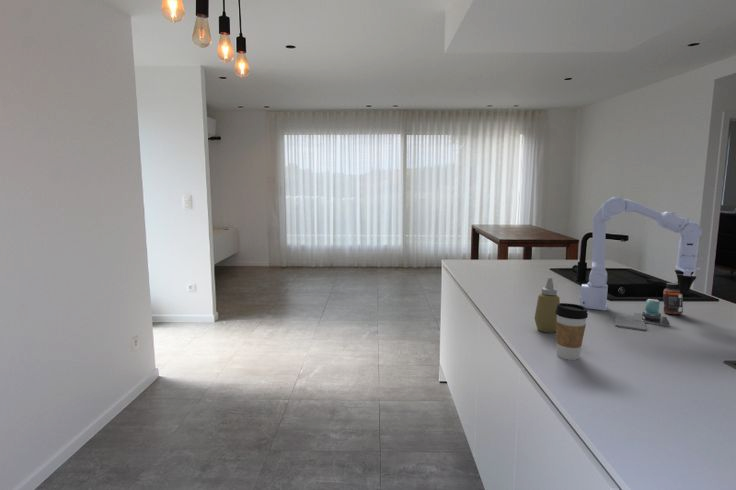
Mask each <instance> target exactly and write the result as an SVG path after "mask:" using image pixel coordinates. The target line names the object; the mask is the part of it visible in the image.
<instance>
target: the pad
mask: <svg viewBox="0 0 736 490" xmlns="http://www.w3.org/2000/svg"><path fill="white" fill-rule="evenodd" d="M614 324H615V327H616V328H621V329H622V328H624V329H628V330H630V329H631V330H635V329H636V331H641V332H642V331H644V332H647V327H646V323H644V322H643V321H636V320H633V319H629V318H619V317H615V318H614Z"/></svg>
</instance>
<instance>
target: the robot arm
mask: <svg viewBox="0 0 736 490" xmlns="http://www.w3.org/2000/svg"><path fill="white" fill-rule="evenodd" d="M624 210H625V213H637V214H640V215H642V216H644V217H647V218H650V219H652V220H654V221H656V223H657V225H658V226H659V227H661V228H664V229H666V230H668V231H670V232H673V233H675V234H680V237H679V238H680V239H679V242H678V248H677V249H678V250H677V258H676V265H675V270H674V272H675V274H676V279H677V283H678V288H679V289H680V294H683V295H686V296H687V295H688V294H689V292H690V289H691V287H692V285H693V283H694V282H695V281H696V279H697V276H695V275H694V272H696V271H698V272H699V271H700V270H701V267H697V262H698V254H699V246H700V243H699V241H700V236H702V234H703V230H702V227H701V226H700V225H699V223H697V222H694V221H693V220H691V219H690V218H687V217H686V218H684V217H682V216H679V215H677V214H676V212H674V211H670V212H669V211H667V210H666V211H664V212H660V211H657V210H656V209H653V208H651V207H649V206H646V205H645V204H641V203H640V202H637V201H634V200H631V199H628V198H622V197H621V196H612V197H610V198H608V199H606V201H604V202H603V203H602V204H601V206H600V207H599V208H598V210H596V212H595V213H594V215H593V217H592V248H591V249H592V251H591V255H592V257H591V261H592V262H591V270H590V272H589V276H588V282H587V283H582V284H581V288H580V296H579V302H580V303H579V305H581V306H584V307H586V308H587V309H589V310H592V309H593V310H597V311H598V310H599V311H605V312H607V311H608V304H607V299H608V288H609V284H607V282H608V271H607V269H606V234H607V232H606V229H607V228H606V227H607V222H608V221H609V220H610V219H611V218H612V217H614V216H617V215H619V214H621V213H623V212H624Z"/></svg>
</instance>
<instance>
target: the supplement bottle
mask: <svg viewBox="0 0 736 490" xmlns="http://www.w3.org/2000/svg"><path fill="white" fill-rule="evenodd" d="M683 295H684V294H680V289H679V288H678V282H666V288H664V289H663V312H664V313H665V314H667V315H668V314H669V315H682V314H683V312H684V311H683V310H684V309H683V307H684V305H683V304H684V301H683V298H684V296H683Z"/></svg>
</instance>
